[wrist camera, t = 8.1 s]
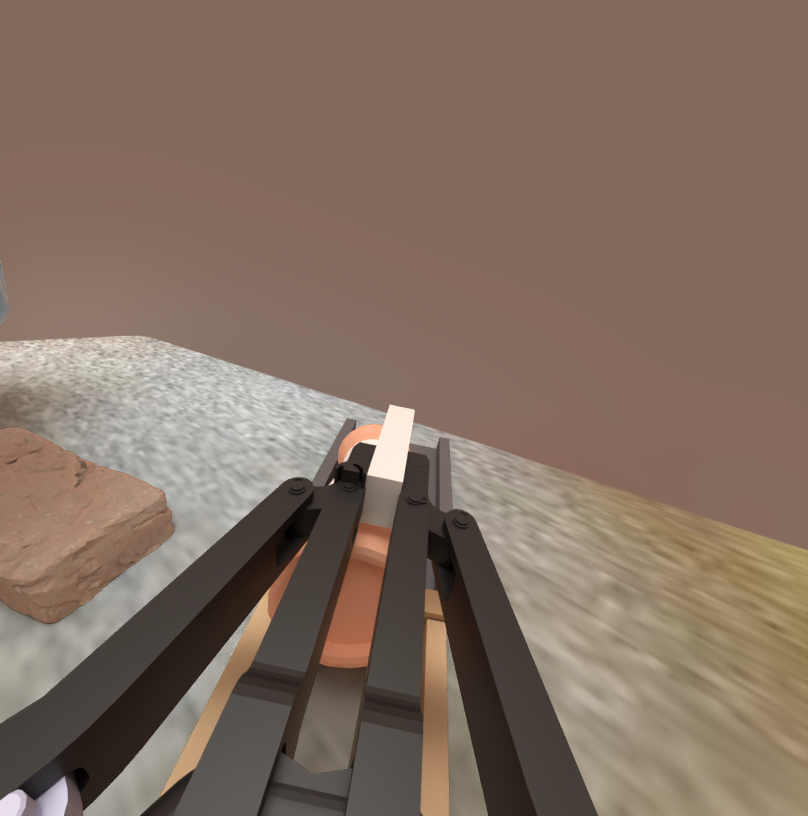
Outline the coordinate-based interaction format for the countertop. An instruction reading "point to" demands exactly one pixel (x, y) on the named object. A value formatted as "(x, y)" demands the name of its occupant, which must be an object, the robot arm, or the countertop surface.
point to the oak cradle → (430, 702)
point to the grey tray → (437, 477)
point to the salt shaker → (350, 581)
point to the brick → (68, 525)
